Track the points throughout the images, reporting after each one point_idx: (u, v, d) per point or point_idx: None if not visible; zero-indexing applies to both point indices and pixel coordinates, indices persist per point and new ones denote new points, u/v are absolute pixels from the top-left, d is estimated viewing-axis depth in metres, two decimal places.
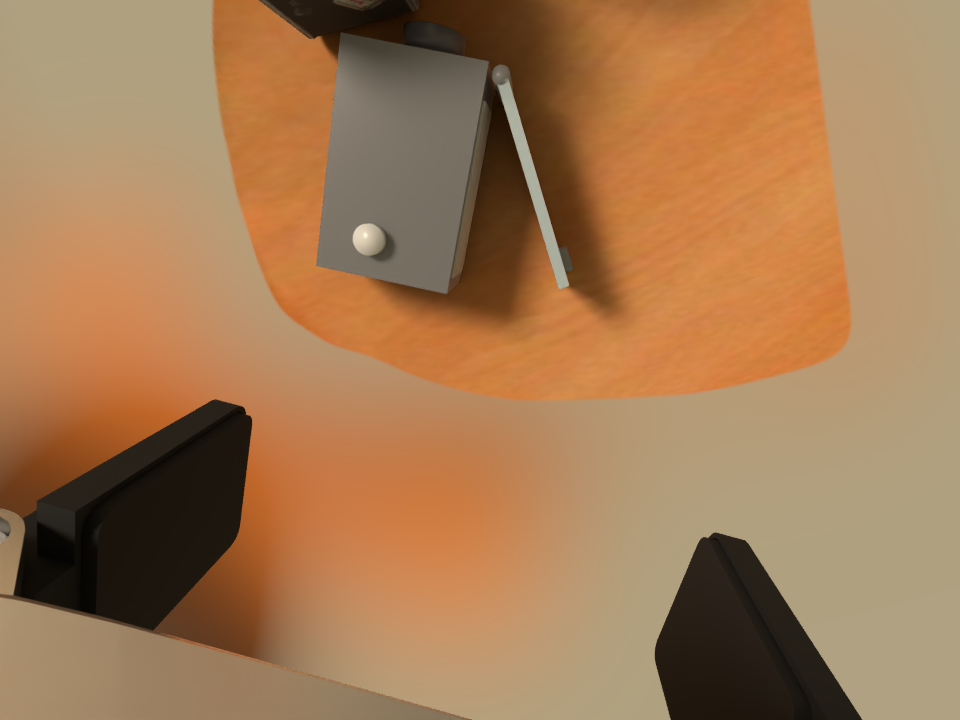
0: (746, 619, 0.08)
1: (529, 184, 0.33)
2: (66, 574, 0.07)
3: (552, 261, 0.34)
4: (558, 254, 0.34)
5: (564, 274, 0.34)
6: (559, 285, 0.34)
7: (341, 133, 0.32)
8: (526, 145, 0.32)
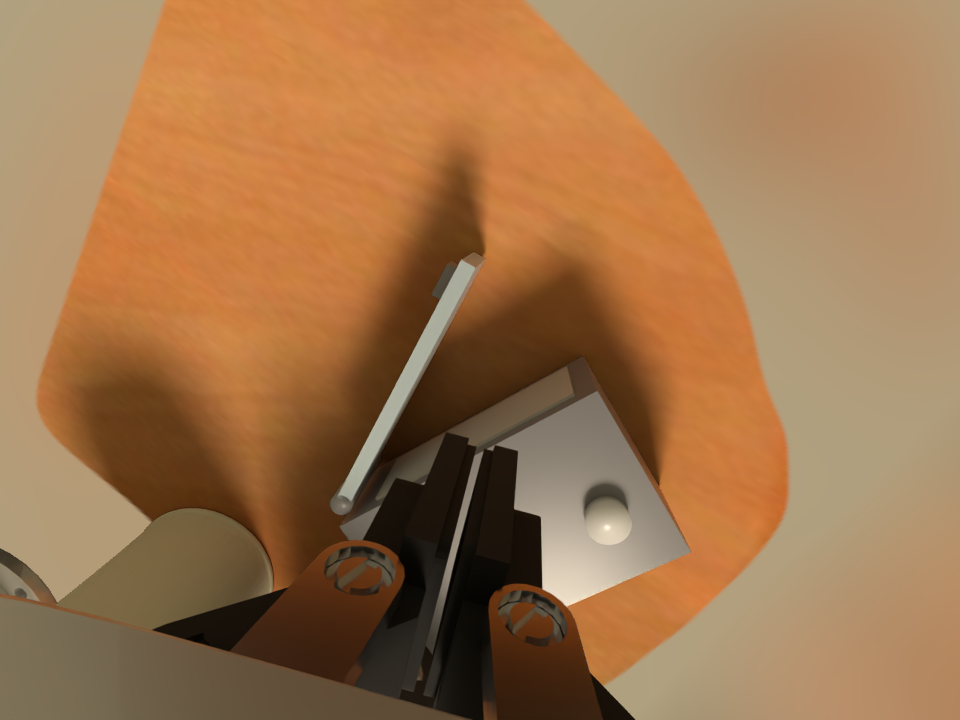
0: (473, 500, 0.09)
1: (402, 399, 0.24)
2: (422, 597, 0.08)
3: (453, 304, 0.22)
4: (439, 305, 0.22)
5: (454, 277, 0.22)
6: (471, 271, 0.22)
7: None
8: (372, 433, 0.24)
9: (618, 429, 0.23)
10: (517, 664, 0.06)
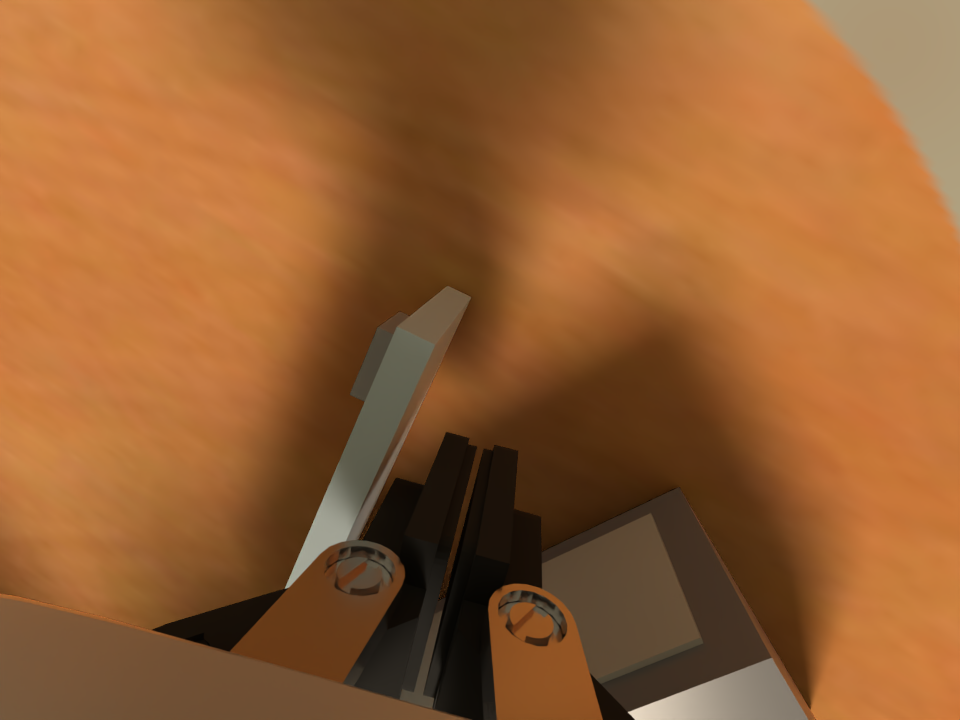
0: (472, 500, 0.09)
1: None
2: (422, 597, 0.08)
3: (388, 433, 0.09)
4: (355, 436, 0.09)
5: (383, 371, 0.09)
6: (424, 353, 0.09)
7: None
8: None
9: None
10: (517, 664, 0.06)
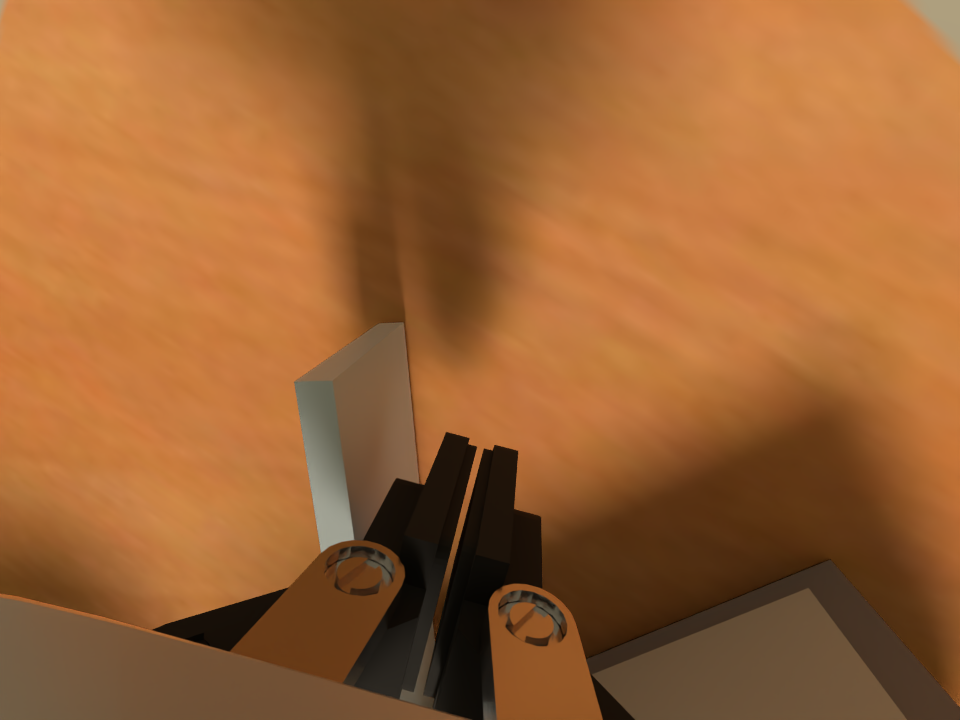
0: (472, 500, 0.09)
1: None
2: (423, 597, 0.08)
3: (340, 475, 0.10)
4: (316, 491, 0.10)
5: (305, 424, 0.09)
6: (328, 392, 0.09)
7: None
8: None
9: None
10: (516, 664, 0.06)
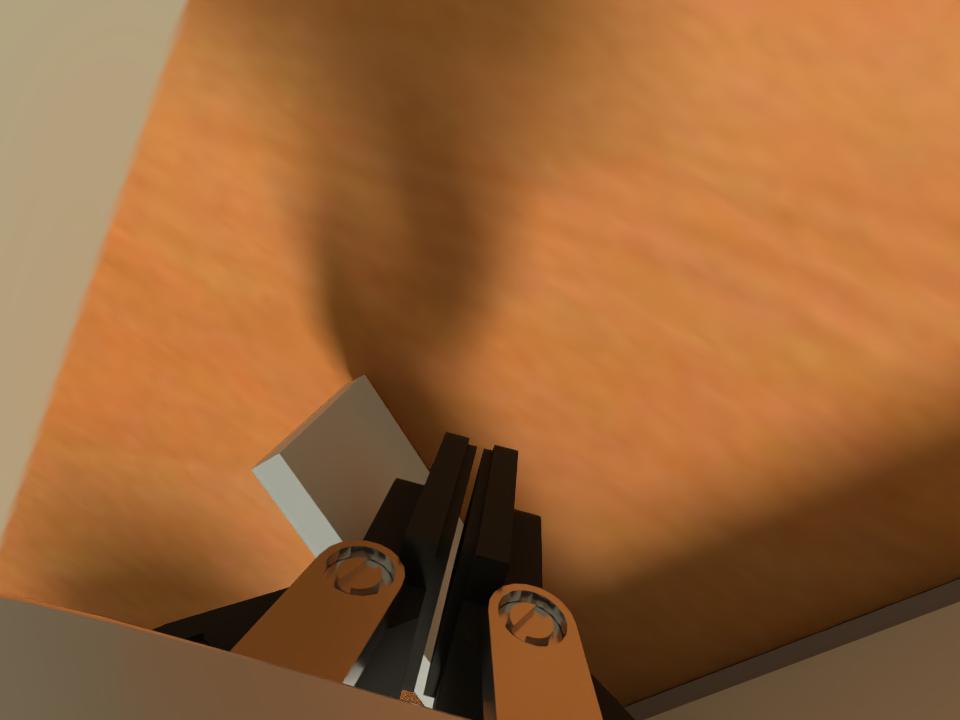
0: (472, 500, 0.09)
1: None
2: (423, 597, 0.08)
3: (330, 531, 0.10)
4: (318, 554, 0.10)
5: (278, 501, 0.10)
6: (282, 464, 0.10)
7: None
8: None
9: None
10: (517, 664, 0.06)
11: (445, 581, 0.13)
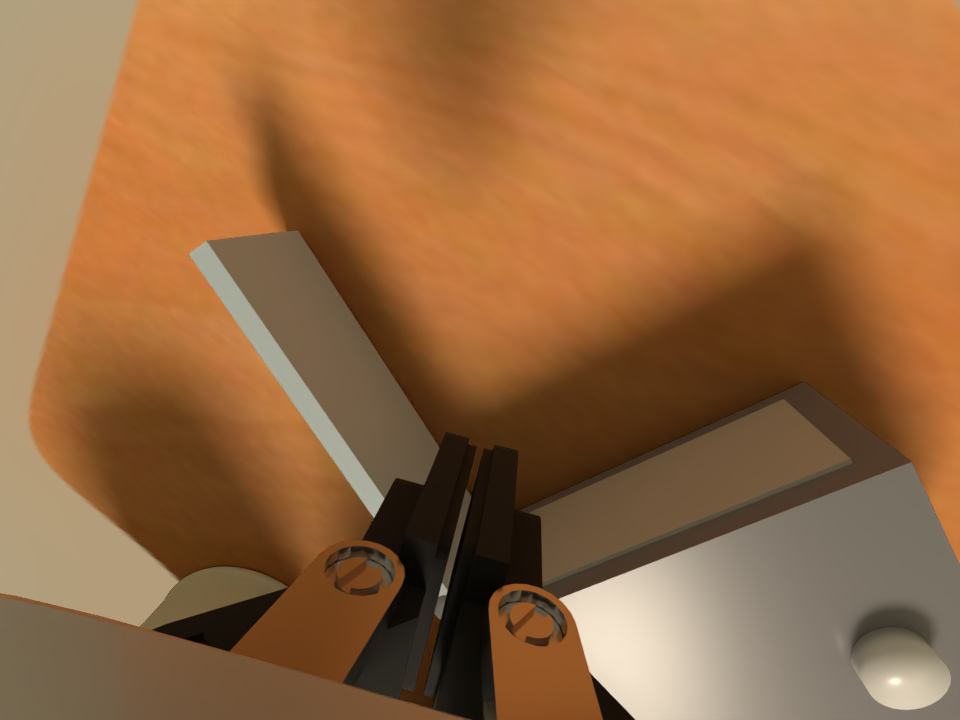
0: (473, 500, 0.09)
1: (342, 443, 0.16)
2: (422, 597, 0.08)
3: (243, 300, 0.15)
4: (236, 318, 0.15)
5: (208, 277, 0.15)
6: (208, 249, 0.14)
7: None
8: (370, 508, 0.16)
9: (938, 525, 0.13)
10: (517, 664, 0.06)
11: (347, 372, 0.18)
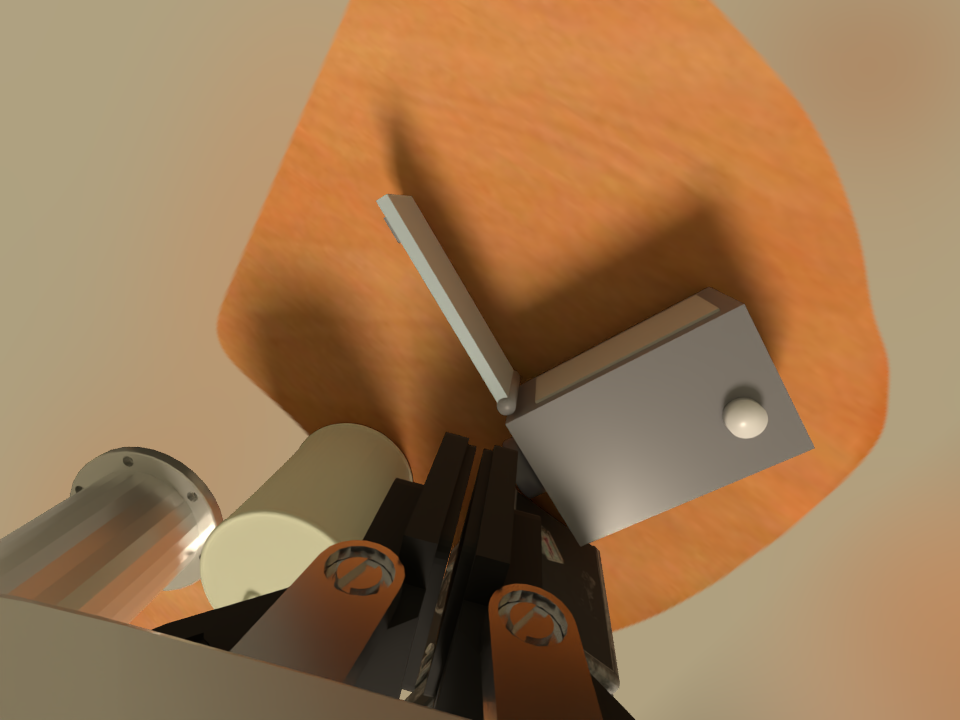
0: (473, 500, 0.09)
1: (451, 307, 0.29)
2: (422, 597, 0.08)
3: (403, 226, 0.28)
4: (399, 236, 0.28)
5: (385, 213, 0.28)
6: (387, 198, 0.27)
7: (660, 500, 0.30)
8: (464, 345, 0.29)
9: (759, 338, 0.27)
10: (517, 664, 0.06)
11: (446, 275, 0.31)
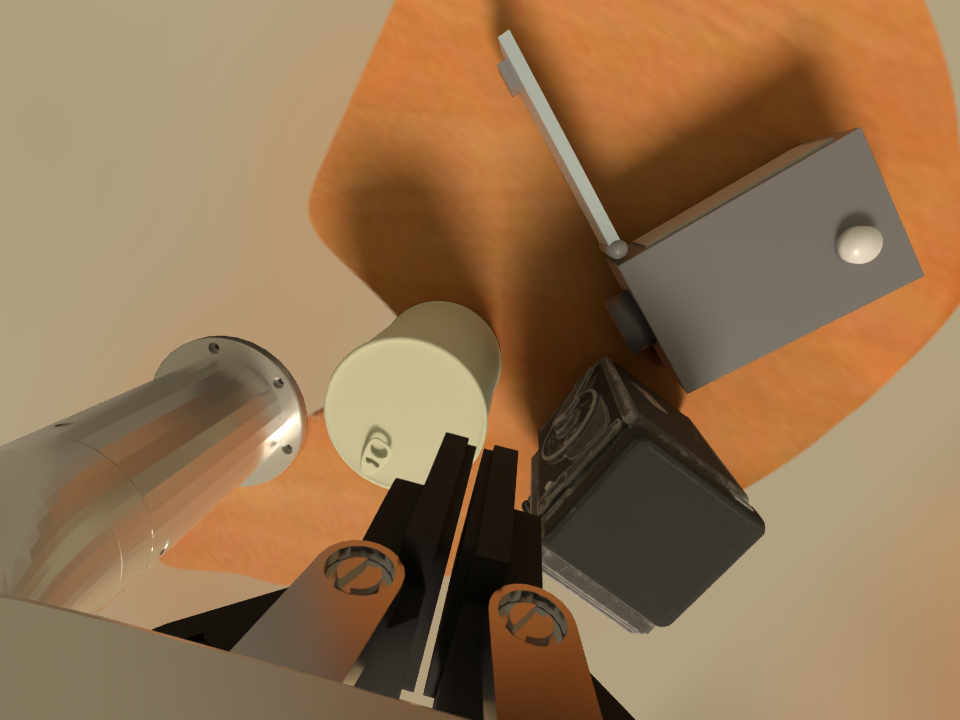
0: (472, 500, 0.09)
1: (568, 146, 0.29)
2: (422, 597, 0.08)
3: (524, 62, 0.28)
4: (519, 73, 0.29)
5: (506, 50, 0.28)
6: (509, 34, 0.28)
7: (769, 339, 0.31)
8: (579, 186, 0.30)
9: (874, 162, 0.28)
10: (517, 664, 0.06)
11: None
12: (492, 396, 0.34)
